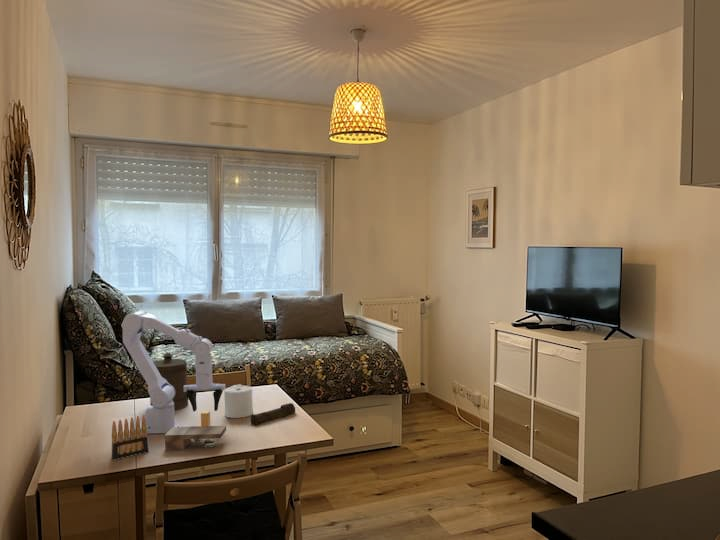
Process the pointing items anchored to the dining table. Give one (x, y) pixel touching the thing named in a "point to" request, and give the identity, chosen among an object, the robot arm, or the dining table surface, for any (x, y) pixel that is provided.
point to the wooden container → (174, 378)
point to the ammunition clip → (129, 439)
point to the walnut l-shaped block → (191, 435)
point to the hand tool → (273, 414)
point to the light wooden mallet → (205, 419)
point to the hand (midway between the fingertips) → (205, 410)
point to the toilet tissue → (238, 401)
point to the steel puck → (210, 442)
